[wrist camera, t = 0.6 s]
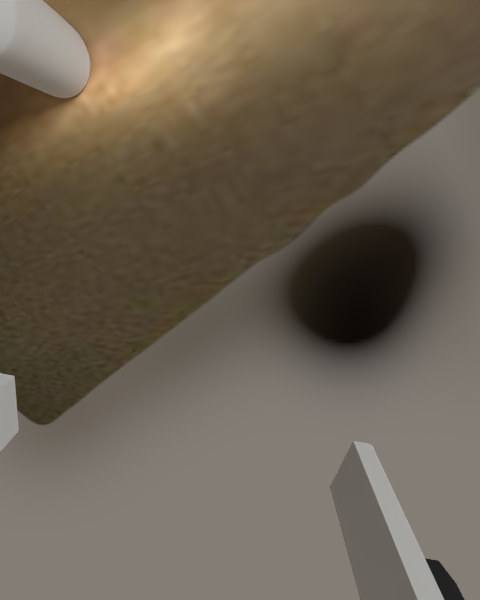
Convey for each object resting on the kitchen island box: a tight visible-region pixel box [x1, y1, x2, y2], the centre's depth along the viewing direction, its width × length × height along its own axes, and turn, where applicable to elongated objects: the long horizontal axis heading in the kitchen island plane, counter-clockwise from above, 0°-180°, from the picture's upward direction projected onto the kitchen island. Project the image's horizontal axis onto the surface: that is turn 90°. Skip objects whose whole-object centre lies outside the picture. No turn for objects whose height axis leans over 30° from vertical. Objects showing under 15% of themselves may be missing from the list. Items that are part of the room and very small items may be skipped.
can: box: [0, 0, 90, 98], centre depth 24 cm, size 6×6×12 cm
